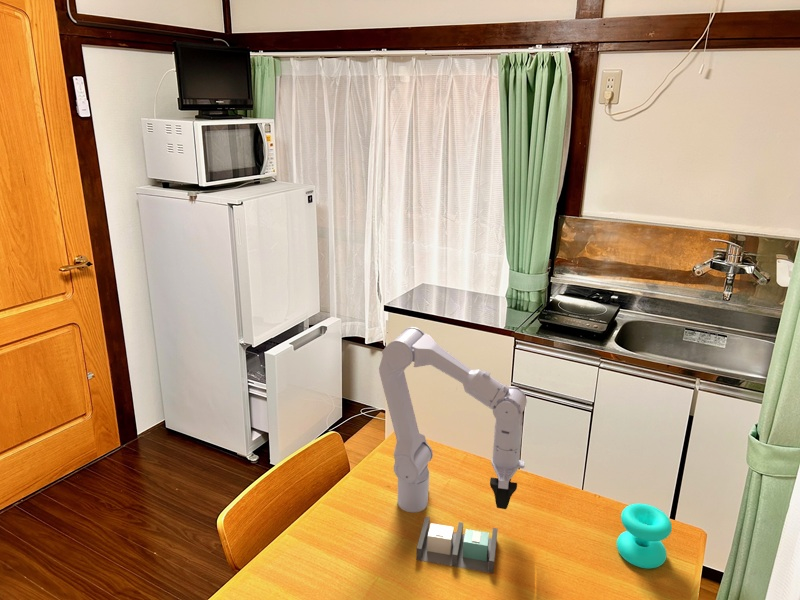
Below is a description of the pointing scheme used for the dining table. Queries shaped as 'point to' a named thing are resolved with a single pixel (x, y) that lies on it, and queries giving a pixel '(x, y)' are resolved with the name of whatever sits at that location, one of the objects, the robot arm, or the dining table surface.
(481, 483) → the dining table surface
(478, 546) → the teal box
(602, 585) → the dining table surface
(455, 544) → the gray shelf unit
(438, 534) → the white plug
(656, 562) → the turquoise spool
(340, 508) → the dining table surface
